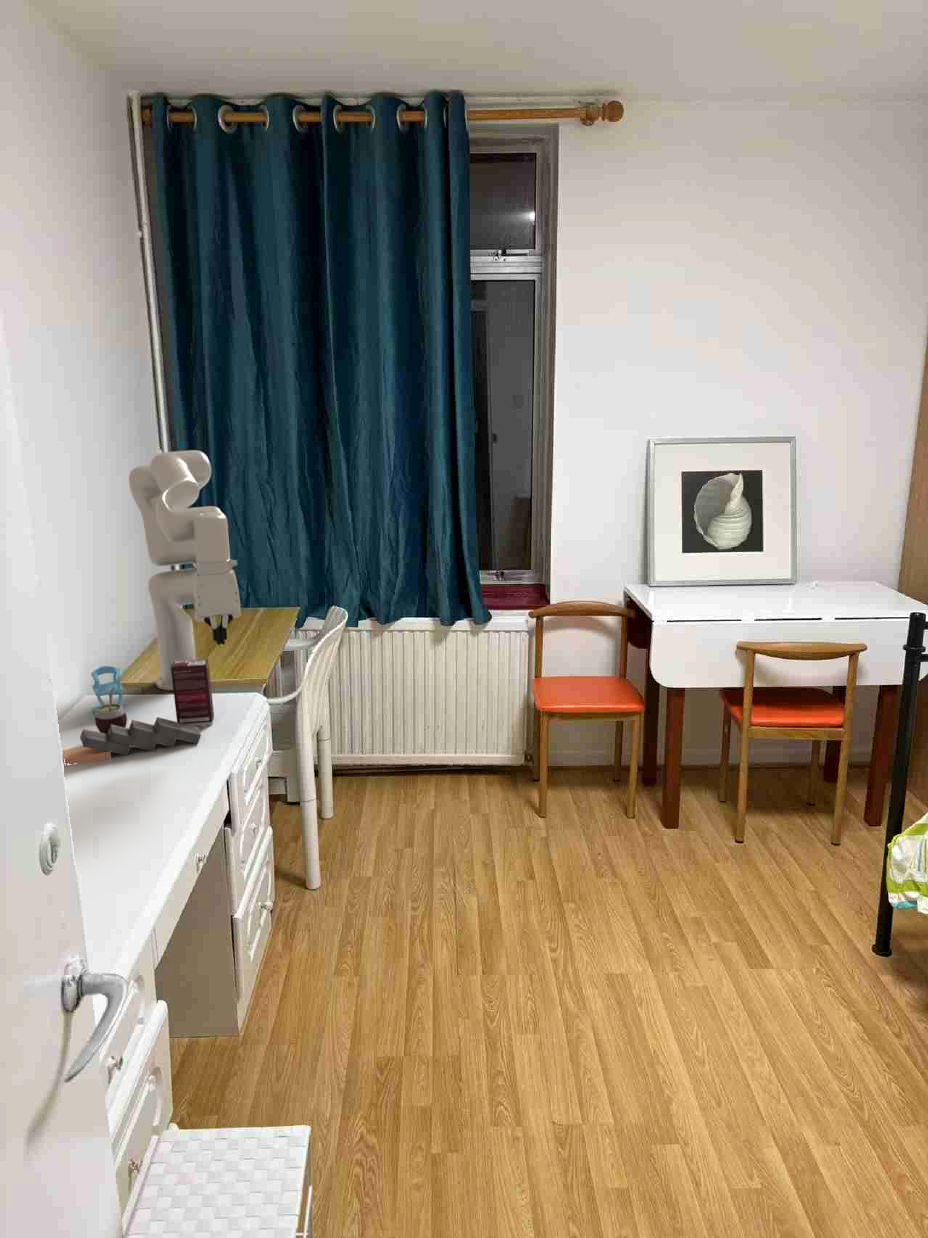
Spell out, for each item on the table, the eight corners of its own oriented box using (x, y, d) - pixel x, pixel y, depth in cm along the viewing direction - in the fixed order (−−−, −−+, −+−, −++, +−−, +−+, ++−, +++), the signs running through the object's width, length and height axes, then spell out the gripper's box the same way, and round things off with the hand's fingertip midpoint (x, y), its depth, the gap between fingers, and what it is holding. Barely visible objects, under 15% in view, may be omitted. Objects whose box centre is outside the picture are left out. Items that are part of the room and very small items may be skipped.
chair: (98, 722, 239) (92, 677, 236) (92, 710, 246) (86, 666, 242) (130, 715, 243) (125, 671, 239) (123, 704, 250) (118, 661, 246)
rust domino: (109, 751, 223) (63, 759, 219) (108, 743, 222) (62, 750, 219) (111, 760, 219) (64, 768, 215) (110, 751, 218) (63, 759, 214)
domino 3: (170, 739, 228) (129, 728, 224) (174, 730, 228) (132, 719, 224) (173, 747, 224) (130, 736, 219) (176, 738, 224) (133, 727, 219)
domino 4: (194, 735, 230) (153, 725, 226) (198, 727, 230) (157, 717, 225) (197, 743, 226) (156, 733, 221) (201, 735, 226) (159, 724, 221)
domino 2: (150, 743, 227) (107, 732, 222) (153, 734, 226) (111, 724, 222) (152, 751, 222) (109, 741, 218) (156, 742, 222) (112, 732, 217)
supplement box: (214, 718, 241) (209, 658, 236) (212, 725, 236) (206, 664, 232) (179, 720, 240) (173, 660, 235) (176, 727, 235) (170, 666, 230)
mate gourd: (108, 732, 233) (101, 674, 228) (138, 734, 231) (131, 676, 227) (90, 744, 226) (83, 685, 221) (121, 747, 224) (114, 687, 220)
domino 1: (123, 746, 224) (79, 737, 218) (126, 737, 224) (83, 729, 218) (127, 755, 220) (83, 746, 214) (130, 746, 220) (86, 737, 214)
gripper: (244, 560, 225) (249, 634, 231) (178, 566, 220) (185, 642, 225) (249, 567, 219) (255, 643, 224) (182, 574, 213) (189, 652, 219)
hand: (220, 642), depth 225 cm, fingers closed
